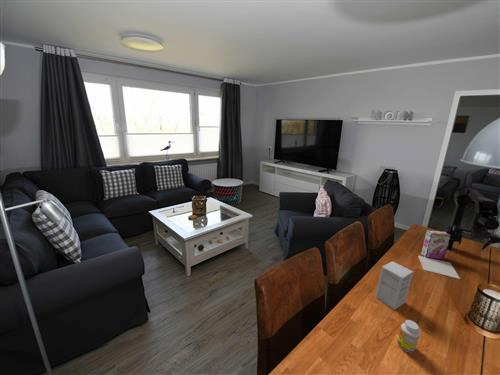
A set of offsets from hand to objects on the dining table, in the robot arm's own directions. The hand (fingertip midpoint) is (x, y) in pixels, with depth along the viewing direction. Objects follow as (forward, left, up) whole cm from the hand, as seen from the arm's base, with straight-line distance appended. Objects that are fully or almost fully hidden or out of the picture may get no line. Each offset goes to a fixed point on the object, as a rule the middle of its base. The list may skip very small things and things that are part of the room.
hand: (470, 247), depth 128 cm
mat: (+6, -13, -14) cm, 20 cm away
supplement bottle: (+74, -38, -14) cm, 84 cm away
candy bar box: (-5, -13, -14) cm, 20 cm away
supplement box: (+50, -41, -14) cm, 66 cm away
